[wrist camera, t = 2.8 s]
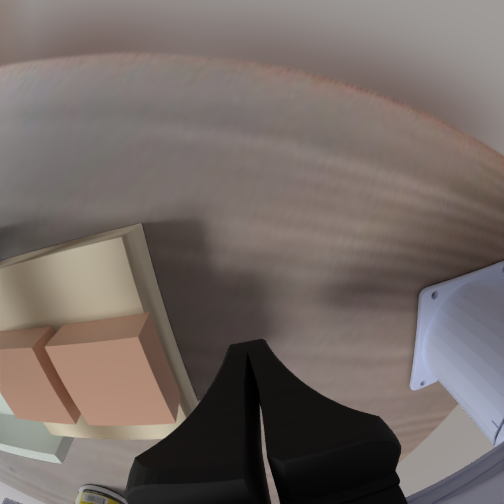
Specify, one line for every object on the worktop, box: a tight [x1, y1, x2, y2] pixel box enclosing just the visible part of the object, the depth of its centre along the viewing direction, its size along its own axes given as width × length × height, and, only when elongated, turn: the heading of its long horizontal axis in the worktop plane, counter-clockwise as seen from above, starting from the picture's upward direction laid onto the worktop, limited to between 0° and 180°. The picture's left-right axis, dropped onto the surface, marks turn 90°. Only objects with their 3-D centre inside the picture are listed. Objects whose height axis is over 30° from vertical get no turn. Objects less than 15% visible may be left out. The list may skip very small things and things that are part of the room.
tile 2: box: [0, 326, 81, 425], centre depth 11 cm, size 4×4×2 cm
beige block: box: [0, 223, 198, 439], centre depth 14 cm, size 10×11×3 cm
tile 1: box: [45, 312, 181, 426], centre depth 12 cm, size 4×4×2 cm
